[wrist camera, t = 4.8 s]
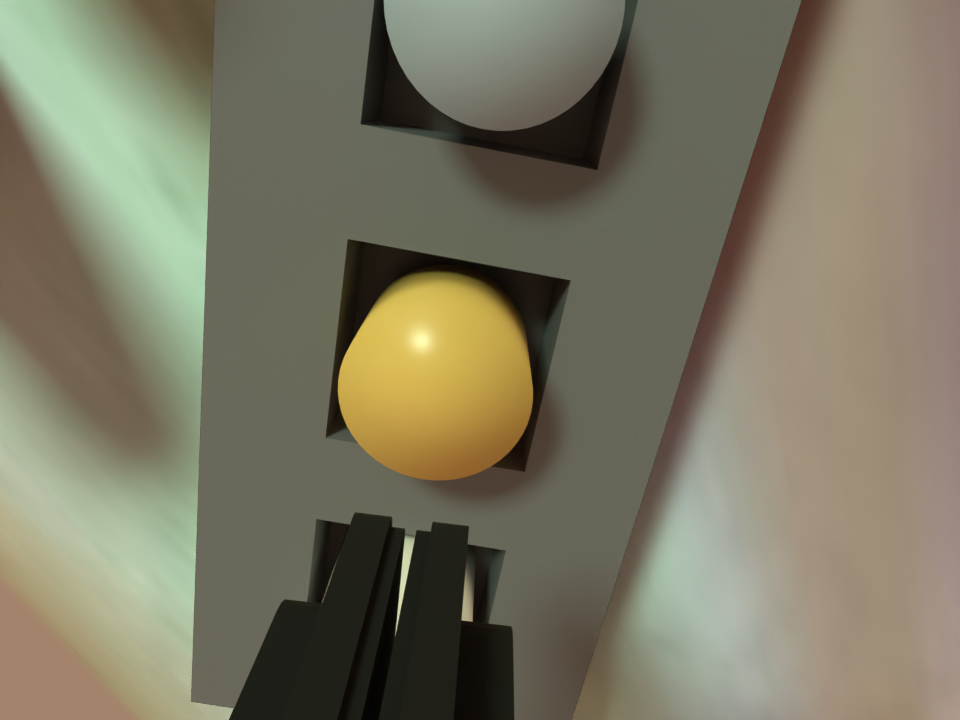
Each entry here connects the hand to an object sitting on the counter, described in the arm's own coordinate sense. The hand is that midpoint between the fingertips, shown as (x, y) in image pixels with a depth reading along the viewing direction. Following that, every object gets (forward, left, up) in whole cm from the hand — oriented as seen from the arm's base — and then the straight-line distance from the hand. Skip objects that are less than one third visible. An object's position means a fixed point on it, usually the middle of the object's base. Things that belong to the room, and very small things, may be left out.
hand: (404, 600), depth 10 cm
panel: (0, -1, -11) cm, 11 cm away
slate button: (0, -9, -9) cm, 13 cm away
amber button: (0, -1, -9) cm, 9 cm away
